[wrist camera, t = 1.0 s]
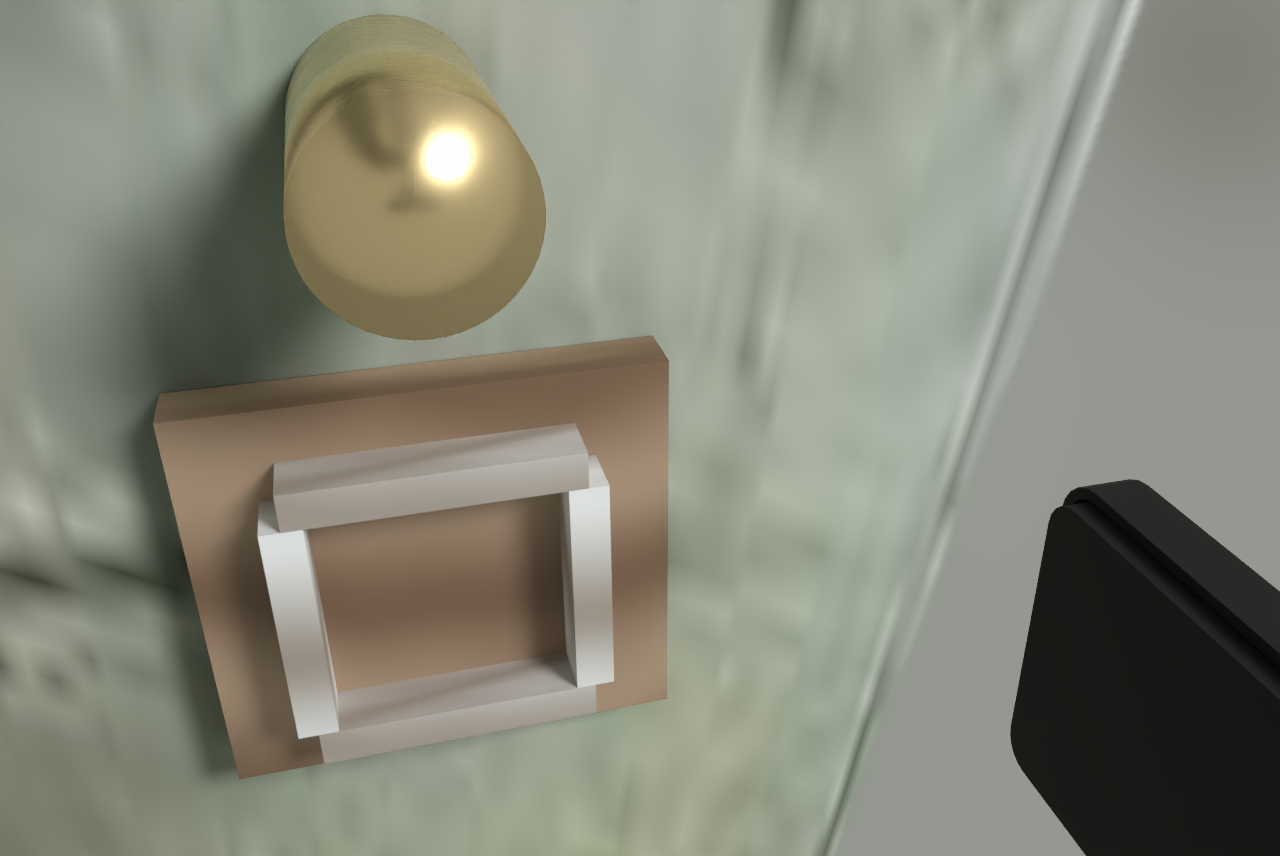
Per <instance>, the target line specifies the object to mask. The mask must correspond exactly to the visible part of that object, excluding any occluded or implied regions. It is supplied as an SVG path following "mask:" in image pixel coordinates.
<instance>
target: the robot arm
mask: <svg viewBox="0 0 1280 856" xmlns="http://www.w3.org/2000/svg"><path fill="white" fill-rule="evenodd" d="M1010 736H1011V744H1012V748H1013V752H1014V755H1015V757H1016V760H1017V762H1018V764H1019V766H1020V767H1021V769H1022V771H1023V772H1024V773H1025V775H1026V776H1027V777H1028V779H1029V780H1030V781H1031V783H1032V784H1033V785H1034V787H1035V788H1036V789H1037V791H1038V792H1039V793H1040V795H1041V796H1042V797H1043V799H1044V800H1045V801H1046V803H1047V804H1048V805H1049V807H1050V808H1051V809H1052V811H1053V812H1054V813H1055V815H1056V816H1057V817H1058V819H1059V820H1060V821H1061V823H1062V824H1063V826H1064V827H1065V828H1066V830H1067V831H1068V832H1069V834H1070V835H1071V836H1072V837H1073V839H1074V840H1075V842H1076V843H1077V844H1078V846H1079V847H1080V848H1081V850H1082V851H1083V852H1084V854H1085V855H1086V856H1280V591H1278V590H1277V589H1276V588H1275V587H1273V586H1272V585H1271V584H1270V583H1268V582H1267V581H1266V580H1265V579H1263V578H1262V577H1261V576H1260V575H1258V574H1257V573H1256V572H1255V571H1253V570H1252V569H1251V568H1250V567H1249V566H1247V565H1246V564H1245V563H1244V562H1242V561H1241V560H1240V559H1239V558H1237V557H1236V556H1235V555H1234V554H1232V553H1231V552H1230V551H1229V550H1227V549H1226V548H1225V547H1224V546H1222V545H1221V544H1220V543H1219V542H1217V541H1216V540H1215V539H1214V538H1212V537H1211V536H1210V535H1209V534H1208V533H1206V532H1205V531H1204V530H1203V529H1201V528H1200V527H1199V526H1198V525H1196V524H1195V523H1194V522H1193V521H1191V520H1190V519H1189V518H1188V517H1186V516H1185V515H1184V514H1183V513H1181V512H1180V511H1179V510H1178V509H1176V508H1175V507H1174V506H1173V505H1172V504H1170V503H1169V502H1168V501H1166V500H1165V499H1164V498H1163V497H1161V496H1160V495H1159V494H1158V493H1157V492H1155V491H1154V490H1153V489H1152V488H1150V487H1149V486H1148V485H1146V484H1144V483H1143V482H1141V481H1139V480H1130V479H1129V480H1123V481H1117V482H1110V483H1104V484H1098V485H1091V486H1085V487H1078V488H1076V489H1074V490H1072V491H1071V492H1070V493H1069V494H1068V495H1067V497H1066V498H1065V500H1064V503H1063V506H1061V507H1059V508H1056V509H1055V510H1054V512H1053V513H1052V515H1051V517H1050V520H1049V524H1048V529H1047V535H1046V540H1045V545H1044V551H1043V556H1042V561H1041V567H1040V572H1039V578H1038V583H1037V589H1036V594H1035V600H1034V605H1033V610H1032V615H1031V621H1030V626H1029V632H1028V637H1027V642H1026V648H1025V653H1024V659H1023V664H1022V669H1021V675H1020V680H1019V686H1018V691H1017V696H1016V702H1015V707H1014V712H1013V718H1012V723H1011V735H1010Z"/></svg>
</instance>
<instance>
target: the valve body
mask: <svg viewBox="0 0 1280 856" xmlns="http://www.w3.org/2000/svg"><path fill="white" fill-rule="evenodd" d="M545 227H546V207H545V199H544V193H543V189H542V185H541V181H540V178H539V175H538V173H537V170H536V168H535V165H534V163H533V161H532V160H531V158H530V156H529V154H528V153H527V151H526V149H525V148H524V146H523V144H522V143H521V141H520V139H519V138H518V136H517V135H516V133H515V131H514V130H513V128H512V127H511V125H510V123H509V122H508V120H507V118H506V117H505V115H504V114H503V112H502V110H501V109H500V107H499V106H498V104H497V102H496V101H495V99H494V98H493V96H492V94H491V93H490V91H489V89H488V88H487V86H486V85H485V83H484V81H483V80H482V78H481V77H480V75H479V73H478V72H477V70H476V68H475V67H474V65H473V64H472V62H471V61H470V59H469V58H468V57H467V55H466V54H465V53H464V52H463V51H462V50H461V48H460V47H459V46H458V45H457V44H456V43H455V42H454V41H452V40H451V39H450V38H448V37H447V36H446V35H445V34H443V33H442V32H440V31H438V30H437V29H435V28H433V27H432V26H430V25H427V24H425V23H423V22H420V21H418V20H414V19H411V18H407V17H402V16H396V15H371V16H363V17H360V18H356V19H352V20H349V21H347V22H344V23H342V24H340V25H337V26H336V27H334V28H332V29H331V30H329V31H327V32H326V33H325V34H323V35H322V36H321V37H320V38H318V39H317V40H316V41H315V42H314V43H313V44H312V45H311V46H310V47H309V48H308V49H307V50H306V52H305V53H304V55H303V56H302V58H301V59H300V60H299V62H298V64H297V66H296V68H295V70H294V72H293V74H292V77H291V80H290V83H289V86H288V91H287V96H286V108H285V159H284V228H285V236H286V240H287V244H288V249H289V252H290V254H291V257H292V260H293V262H294V265H295V267H296V269H297V270H298V272H299V274H300V276H301V278H302V279H303V281H304V282H305V284H306V285H307V286H308V288H309V289H310V290H311V292H312V293H313V294H314V295H315V296H316V297H317V298H318V299H319V300H320V301H321V303H322V304H323V305H324V306H326V307H327V308H328V309H329V310H331V311H332V312H333V313H334V314H336V315H337V316H338V317H340V318H342V319H343V320H345V321H347V322H348V323H350V324H352V325H354V326H356V327H358V328H361V329H363V330H365V331H367V332H371V333H374V334H377V335H380V336H384V337H390V338H395V339H404V340H427V339H435V338H441V337H447V336H450V335H454V334H457V333H460V332H463V331H466V330H468V329H470V328H472V327H475V326H477V325H479V324H480V323H482V322H484V321H486V320H487V319H489V318H491V317H492V316H493V315H495V314H496V313H497V312H499V311H500V310H501V309H503V308H504V307H505V306H506V305H507V304H508V303H509V302H510V301H511V300H512V299H513V298H514V297H515V296H516V294H517V293H518V292H519V291H520V289H521V288H522V287H523V286H524V284H525V283H526V281H527V279H528V278H529V276H530V274H531V273H532V271H533V269H534V267H535V264H536V262H537V260H538V257H539V254H540V251H541V247H542V244H543V240H544V233H545Z"/></svg>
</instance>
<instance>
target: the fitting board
mask: <svg viewBox="0 0 1280 856" xmlns="http://www.w3.org/2000/svg"><path fill="white" fill-rule="evenodd" d="M668 385H669V360H668V359H667V357H666V356H665V354H664V353H663V351H662V350H661V348H660V346H659V345H658V343H657V342H656V340H655V339H654V337H653V336H646V337H638V338H629V339H621V340H612V341H604V342H595V343H587V344H578V345H570V346H561V347H553V348H544V349H536V350H527V351H519V352H510V353H502V354H493V355H485V356H476V357H468V358H459V359H451V360H442V361H434V362H425V363H417V364H408V365H400V366H391V367H383V368H374V369H366V370H357V371H349V372H340V373H332V374H323V375H315V376H306V377H298V378H289V379H281V380H272V381H264V382H255V383H246V384H238V385H229V386H221V387H212V388H204V389H195V390H187V391H178V392H170V393H161V394H159V396H158V401H157V406H156V411H155V416H154V420H153V427H154V431H155V435H156V439H157V443H158V447H159V452H160V456H161V460H162V464H163V468H164V472H165V476H166V480H167V484H168V489H169V493H170V497H171V501H172V505H173V509H174V513H175V517H176V521H177V526H178V530H179V534H180V538H181V542H182V546H183V550H184V554H185V558H186V562H187V567H188V571H189V575H190V579H191V583H192V587H193V591H194V595H195V599H196V604H197V608H198V612H199V616H200V620H201V624H202V628H203V632H204V636H205V641H206V645H207V649H208V653H209V657H210V661H211V665H212V669H213V673H214V677H215V682H216V686H217V690H218V694H219V698H220V702H221V706H222V710H223V714H224V719H225V723H226V727H227V731H228V735H229V739H230V743H231V747H232V751H233V756H234V760H235V764H236V768H237V772H238V776H239V779H242V778H247V777H253V776H258V775H263V774H269V773H274V772H279V771H285V770H290V769H295V768H301V767H306V766H311V765H317V764H322V763H324V764H327V763H332V762H338V761H343V760H348V759H354V758H359V757H364V756H370V755H375V754H380V753H386V752H391V751H396V750H401V749H407V748H412V747H417V746H423V745H428V744H433V743H439V742H444V741H449V740H455V739H460V738H465V737H471V736H476V735H481V734H487V733H492V732H497V731H503V730H508V729H513V728H519V727H524V726H529V725H535V724H540V723H545V722H551V721H556V720H561V719H567V718H572V717H577V716H582V715H588V714H593V713H597V712H599V711H604V710H610V709H615V708H620V707H626V706H631V705H636V704H642V703H647V702H652V701H658V700H663V699H667V571H668Z"/></svg>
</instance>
